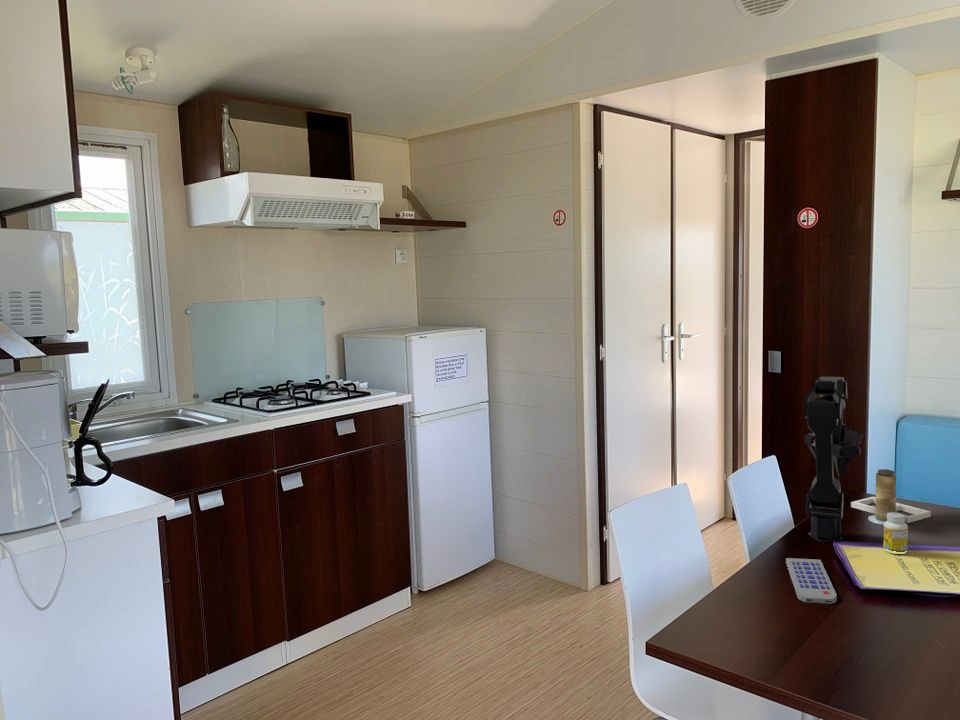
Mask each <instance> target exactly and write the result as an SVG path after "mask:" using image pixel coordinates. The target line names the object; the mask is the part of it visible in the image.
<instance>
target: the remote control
mask: <svg viewBox="0 0 960 720" xmlns="http://www.w3.org/2000/svg"><path fill="white" fill-rule="evenodd" d="M785 564H787V565H786V567H788V568H787V570H789V571H788V572H789V573H788V574H789V576H790V579H791V582H792V584H793V585H792V586H793V587H794V591H795V594H796V597H797V599H798V600H800V601H802V602H804V603H812V604H813V603H815V604H830V605H831V604H835V603H836V602H837V599H838V598H837V596H838V595H837V593H836V592H837V591H836V590H835V588H834V587H833V583H832V581H831V580H830V577H829V575H828V573H827V571H826V569H825V567H824V563H823V561H822V560H821V559H814V558H813V559H809V558H794V557H793V558H792V557H788V558H787V557H786V558H785Z"/></svg>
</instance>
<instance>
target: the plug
mask: <svg viewBox="0 0 960 720" xmlns="http://www.w3.org/2000/svg"><path fill="white" fill-rule="evenodd" d="M875 497H876V504H875V507H876V514H875V515H876V520H878V521H882V522H885V521H888V520H887V518H886V517H887V513H889V512H896V503H897V474H896V473H895V471H894V470H892V469H888V468H887V469H886V468H885V469H884V468H883V469H882V468H881V469H880V468H879V469H878V470H877V472H876V474H875ZM896 513H897V512H896Z"/></svg>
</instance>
